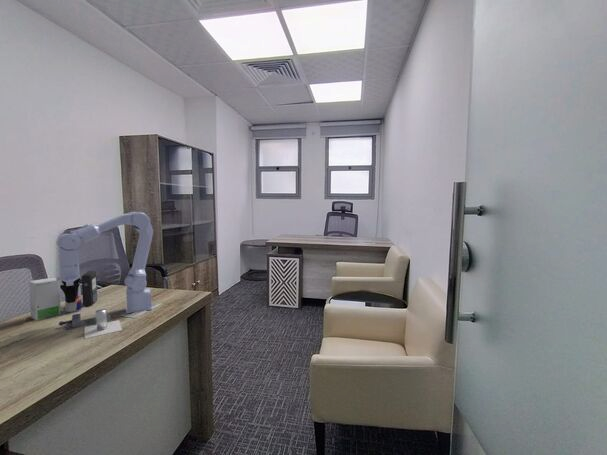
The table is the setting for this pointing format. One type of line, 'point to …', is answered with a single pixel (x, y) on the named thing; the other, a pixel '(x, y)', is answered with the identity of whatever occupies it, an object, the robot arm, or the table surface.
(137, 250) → the robot arm
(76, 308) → the energy drink
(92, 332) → the coaster
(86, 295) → the card reader
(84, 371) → the table surface
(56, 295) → the skincare box
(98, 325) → the steel pin
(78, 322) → the vise
